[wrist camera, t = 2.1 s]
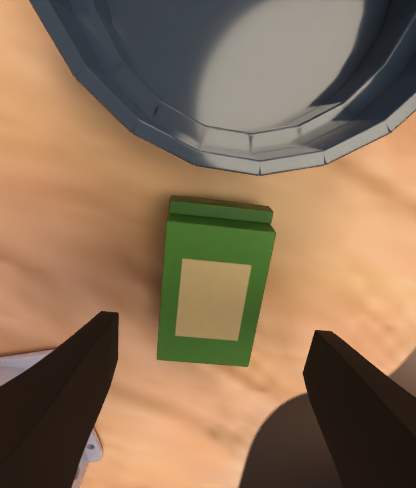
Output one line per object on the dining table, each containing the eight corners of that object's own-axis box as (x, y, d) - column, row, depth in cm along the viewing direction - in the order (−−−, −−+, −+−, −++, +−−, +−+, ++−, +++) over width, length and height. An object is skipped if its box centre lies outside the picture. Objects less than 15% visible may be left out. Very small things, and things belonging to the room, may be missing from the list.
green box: (239, 336, 19) (246, 377, 16) (162, 330, 18) (155, 370, 15) (264, 200, 16) (279, 219, 13) (173, 190, 15) (167, 206, 12)
